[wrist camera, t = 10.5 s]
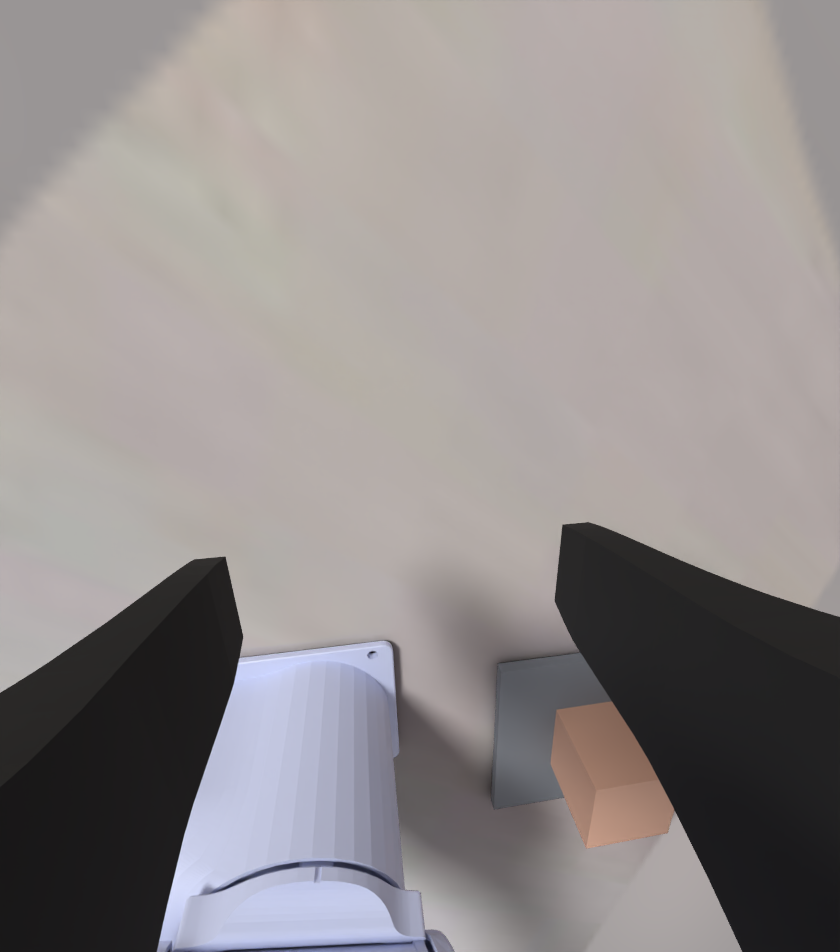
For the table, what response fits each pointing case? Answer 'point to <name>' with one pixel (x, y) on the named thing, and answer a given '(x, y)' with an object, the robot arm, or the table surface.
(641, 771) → the cube
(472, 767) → the table surface
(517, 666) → the mat
